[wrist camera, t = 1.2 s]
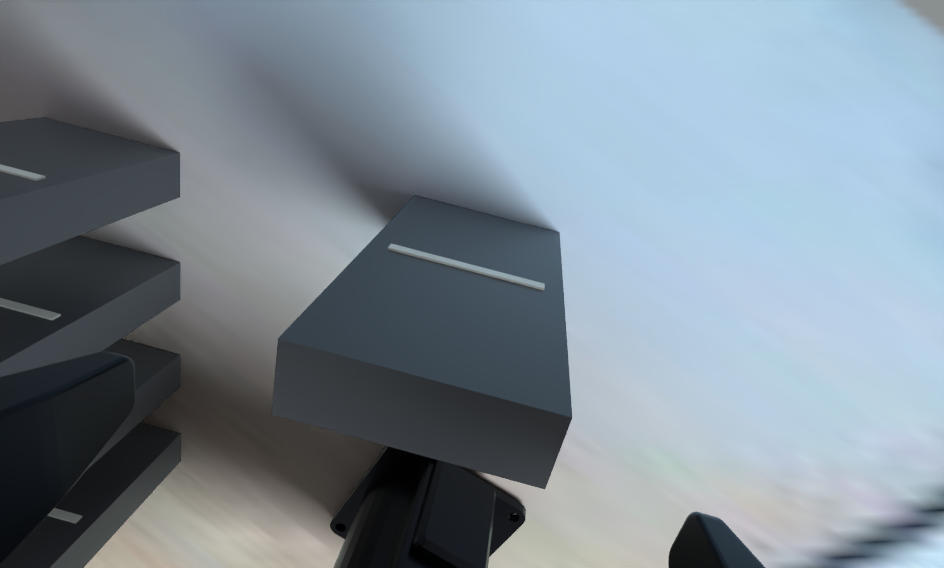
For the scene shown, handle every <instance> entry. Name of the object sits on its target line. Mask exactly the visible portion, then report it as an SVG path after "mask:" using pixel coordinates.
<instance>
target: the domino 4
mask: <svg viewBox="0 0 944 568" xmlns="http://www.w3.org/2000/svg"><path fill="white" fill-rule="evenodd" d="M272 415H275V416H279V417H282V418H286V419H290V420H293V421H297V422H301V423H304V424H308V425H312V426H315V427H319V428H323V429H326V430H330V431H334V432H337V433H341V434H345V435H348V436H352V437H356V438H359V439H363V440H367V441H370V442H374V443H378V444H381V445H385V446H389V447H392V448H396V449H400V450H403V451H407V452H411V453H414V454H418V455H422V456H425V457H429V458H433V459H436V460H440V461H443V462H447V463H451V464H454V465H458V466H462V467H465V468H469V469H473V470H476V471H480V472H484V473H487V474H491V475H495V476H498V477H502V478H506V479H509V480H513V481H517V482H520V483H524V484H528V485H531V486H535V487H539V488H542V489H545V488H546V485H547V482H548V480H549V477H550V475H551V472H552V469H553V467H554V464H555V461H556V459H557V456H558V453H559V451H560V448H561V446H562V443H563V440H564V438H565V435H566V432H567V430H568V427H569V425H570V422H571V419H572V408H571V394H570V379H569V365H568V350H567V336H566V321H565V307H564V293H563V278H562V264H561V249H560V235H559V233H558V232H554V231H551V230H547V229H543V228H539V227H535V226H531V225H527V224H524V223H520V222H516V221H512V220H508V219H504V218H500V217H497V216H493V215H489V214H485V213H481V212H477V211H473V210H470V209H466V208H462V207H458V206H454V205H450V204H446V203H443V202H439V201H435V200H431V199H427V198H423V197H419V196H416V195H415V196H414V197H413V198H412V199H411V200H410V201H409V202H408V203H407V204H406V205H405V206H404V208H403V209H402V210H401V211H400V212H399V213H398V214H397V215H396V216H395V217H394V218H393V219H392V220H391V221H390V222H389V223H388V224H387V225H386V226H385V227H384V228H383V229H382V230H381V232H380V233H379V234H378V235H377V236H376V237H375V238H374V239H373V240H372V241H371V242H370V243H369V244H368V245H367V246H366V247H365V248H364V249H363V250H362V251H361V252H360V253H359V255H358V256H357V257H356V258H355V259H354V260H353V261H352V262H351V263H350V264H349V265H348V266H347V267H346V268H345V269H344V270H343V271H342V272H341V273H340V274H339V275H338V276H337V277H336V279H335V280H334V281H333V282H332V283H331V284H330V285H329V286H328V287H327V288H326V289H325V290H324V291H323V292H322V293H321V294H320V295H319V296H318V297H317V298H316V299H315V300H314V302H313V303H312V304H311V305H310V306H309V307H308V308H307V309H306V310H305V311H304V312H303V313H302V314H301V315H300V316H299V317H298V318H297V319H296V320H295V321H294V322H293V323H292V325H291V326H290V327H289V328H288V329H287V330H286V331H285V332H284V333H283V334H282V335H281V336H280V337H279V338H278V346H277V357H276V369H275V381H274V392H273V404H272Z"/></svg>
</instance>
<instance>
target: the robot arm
mask: <svg viewBox="0 0 944 568" xmlns="http://www.w3.org/2000/svg"><path fill="white" fill-rule="evenodd" d="M135 399H136V394H135V368H134V363H133V361H132V359H131V358H129V357H127V356H124V355H120V354H117V353H113V352H109V351H102V352H97V353H93V354H89V355H85V356H81V357H78V358H74V359H70V360H66V361H62V362H58V363H54V364H50V365H46V366H42V367H38V368H34V369H30V370H26V371H22V372H18V373H14V374H10V375H6V376H2V377H0V565H1V564H2V563H3V562H4V561H5V559H6V558H7V557H8V556H9V555H10V554H11V553H12V552H13V551H14V550H15V549H16V548H17V547H18V546H19V545H20V544H21V543H22V542H23V541H24V539H25V538H26V537H27V536H28V535H29V534H30V533H31V532H32V531H33V530H34V529H35V528H36V527H37V526H38V525H39V524H40V523H41V522H42V521H43V519H44V518H45V517H46V516H47V515H48V514H49V513H50V512H51V511H52V510H53V509H54V508H55V507H56V505H57V504H58V503H59V502H60V501H61V500H62V499H63V498H64V497H65V495H66V494H67V493H68V492H69V491H70V490H71V488H72V487H73V486H74V485H75V484H76V482H77V481H78V480H79V478H80V477H81V476H82V475H83V473H84V472H85V471H86V470H87V468H88V467H89V466H90V465H91V463H92V462H93V461H94V459H95V458H96V457H97V456H98V454H99V453H100V452H101V451H102V449H103V448H104V447H105V445H106V444H107V443H108V442H109V440H110V439H111V438H112V437H113V435H114V434H115V433H116V432H117V430H118V429H119V428H120V426H121V425H122V424H123V423H124V421H125V420H126V419H127V418H128V416H129V415H130V413H131V412H132V410H133V407H134V405H135ZM525 512H526V509H525V507H524V506H523V505H522V504H521V503H520V502H518V501H516V500H515V499H513V498H511V497H510V496H508V495H506V494H505V493H503V492H501V491H500V490H498V489H496V488H495V487H493V486H491V485H490V484H488V483H486V482H485V481H483V480H481V479H480V478H478V477H476V476H475V475H473V474H471V473H470V472H468V471H466V470H465V469H463V468H461V467H460V466H458V465H454V464H451V463H447V462H443V461H440V460H436V459H433V458H429V457H425V456H422V455H418V454H414V453H411V452H407V451H403V450H400V449H396V448H392V447H389V446H386V448H385V449H384V450H383V452H382V453H381V454H380V456H379V457H378V458H377V460H376V461H375V462H374V464H373V465H372V466H371V467H370V469H369V470H368V471H367V473H366V474H365V475H364V477H363V478H362V479H361V481H360V482H359V483H358V485H357V486H356V487H355V489H354V490H353V491H352V492H351V494H350V495H349V496H348V498H347V499H346V500H345V502H344V503H343V504H342V506H341V507H340V508H339V510H338V511H337V512H336V514H335V515H334V517H333V519H332V521H331V524H330V528H331V530H332V531H333V532H334V533H335V534H337V535H339V536H341V537H342V538H344V539H345V541H344V544H343V546H342V548H341V551H340V553H339V556H338V558H337V560H336V563H335V565H334V568H488V561H489V557H490V556H491V555H492V554H493V553H494V552H495V551H496V550H497V549H498V548H499V547H500V546H501V545H502V544H503V543H504V542H505V541H506V540H507V539H508V538H509V537H510V536H511V535H512V534H513V533H514V532H515V531H516V530H517V529H518V528H519V527H520V526H521V525H522V524H523V523H524V521H525ZM510 513H516V515H513V514H510ZM669 568H765V567H764V566H763V565H762V563H761V562H760V561H759V560H758V559H757V558H756V557H755V556H754V555H753V554H752V552H751V551H750V550H749V549H748V548H747V547H746V546H745V545H744V544H743V543H742V541H741V540H740V539H739V538H738V537H737V536H736V535H735V534H734V533H733V532H732V531H731V529H730V528H729V527H728V526H727V525H726V524H725V523H724V522H723V521H722V520H721V519H719V518H717V517H714V516H710V515H707V514H703V513H699V512H693V513H691V514H690V515H689V516H688V517H687V519H686V521H685V522H684V524H683V526H682V528H681V530H680V532H679V534H678V535H677V537H676V539H675V541H674V543H673V545H672V547H671V549H670V553H669Z"/></svg>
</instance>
